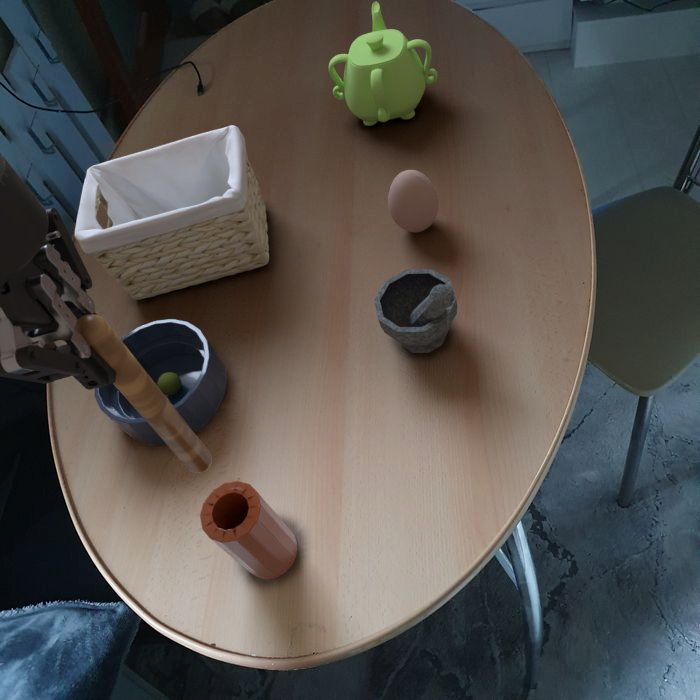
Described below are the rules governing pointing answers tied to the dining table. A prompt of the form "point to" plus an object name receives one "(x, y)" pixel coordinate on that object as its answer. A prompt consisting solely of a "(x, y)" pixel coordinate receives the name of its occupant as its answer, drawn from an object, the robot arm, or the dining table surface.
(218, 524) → the crock
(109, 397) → the bowl
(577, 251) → the dining table surface
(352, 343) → the dining table surface
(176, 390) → the olive
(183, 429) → the stick
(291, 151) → the dining table surface
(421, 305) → the mortar and pestle
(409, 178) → the egg
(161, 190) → the basket
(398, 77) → the teapot
